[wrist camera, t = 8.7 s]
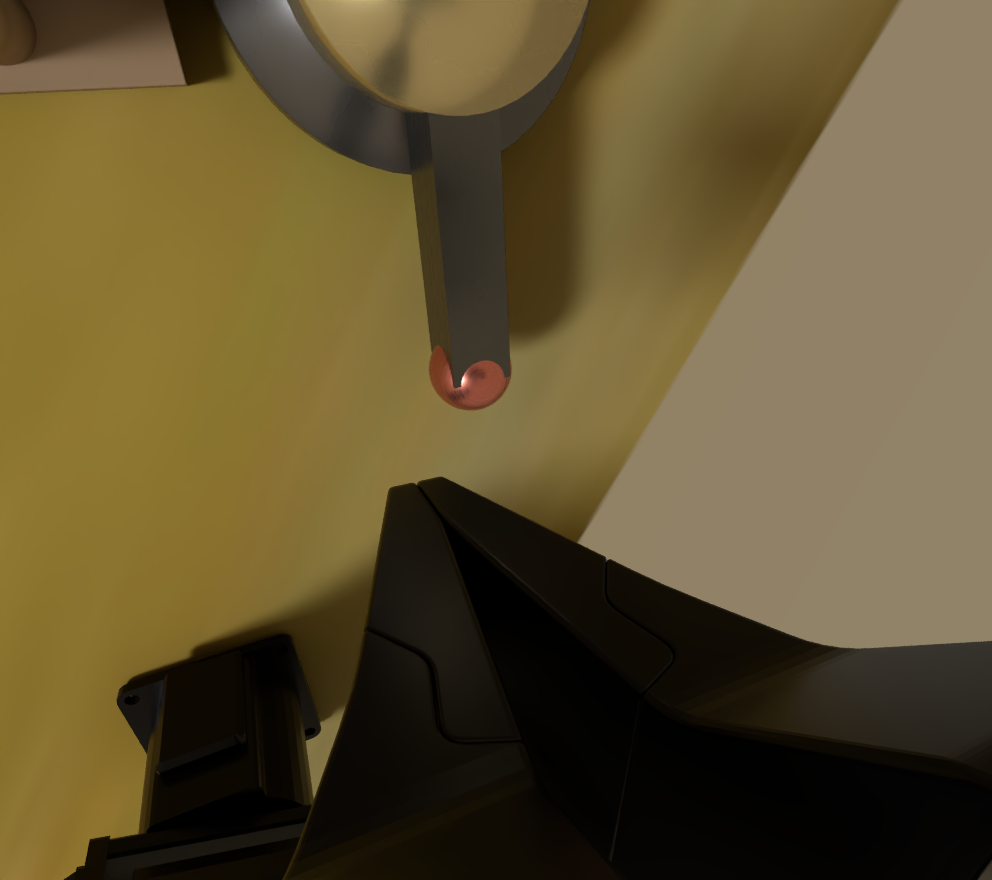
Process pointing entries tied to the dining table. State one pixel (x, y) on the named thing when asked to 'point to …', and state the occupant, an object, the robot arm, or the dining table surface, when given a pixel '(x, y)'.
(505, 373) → the grey red-tipped part
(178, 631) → the dining table surface
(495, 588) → the robot arm
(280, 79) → the nut base
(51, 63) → the rack
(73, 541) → the dining table surface
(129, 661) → the dining table surface
